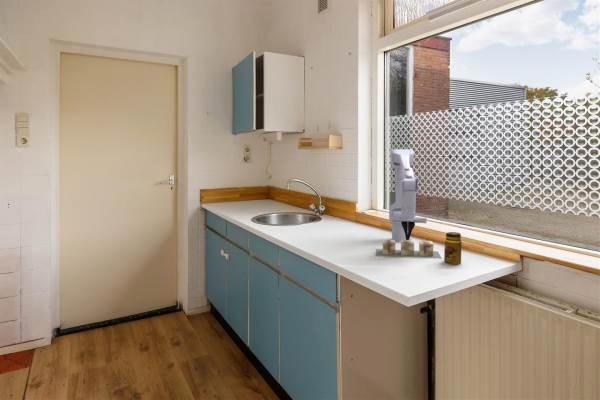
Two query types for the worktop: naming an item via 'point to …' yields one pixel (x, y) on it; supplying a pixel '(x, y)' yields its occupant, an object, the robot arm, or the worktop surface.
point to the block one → (389, 247)
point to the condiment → (452, 248)
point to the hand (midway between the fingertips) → (407, 239)
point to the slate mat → (416, 255)
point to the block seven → (425, 248)
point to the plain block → (407, 247)
